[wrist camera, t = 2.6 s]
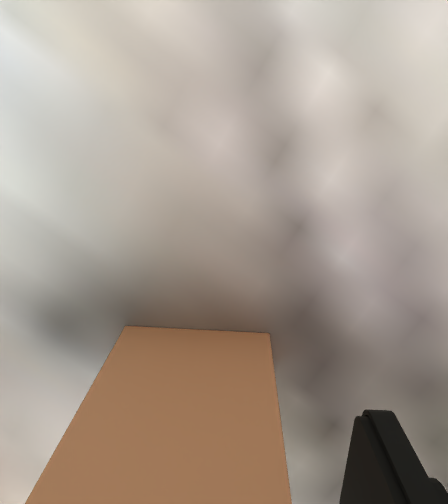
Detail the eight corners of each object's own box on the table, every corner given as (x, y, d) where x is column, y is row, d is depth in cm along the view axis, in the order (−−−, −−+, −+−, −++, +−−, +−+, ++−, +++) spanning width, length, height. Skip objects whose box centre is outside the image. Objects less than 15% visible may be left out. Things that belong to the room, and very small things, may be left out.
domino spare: (269, 333, 14) (334, 828, 4) (266, 372, 14) (317, 894, 5) (125, 325, 14) (-136, 787, 4) (127, 365, 14) (-102, 856, 5)
